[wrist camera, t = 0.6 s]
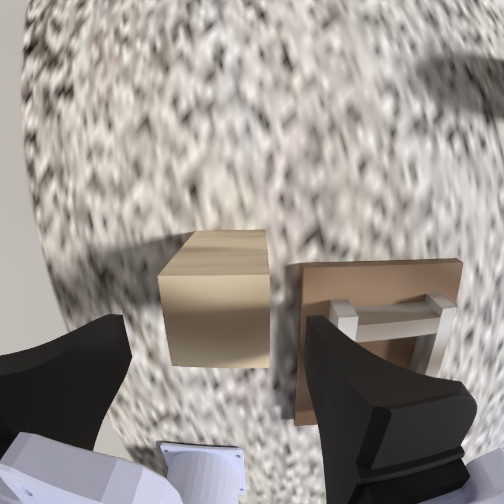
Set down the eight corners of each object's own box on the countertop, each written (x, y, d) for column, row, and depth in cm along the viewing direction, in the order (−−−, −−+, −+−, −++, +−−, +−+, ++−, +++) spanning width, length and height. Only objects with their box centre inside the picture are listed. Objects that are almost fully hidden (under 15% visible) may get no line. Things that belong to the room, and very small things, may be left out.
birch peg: (266, 294, 21) (269, 367, 13) (200, 295, 21) (171, 366, 13) (265, 229, 20) (269, 274, 12) (195, 231, 20) (157, 275, 12)
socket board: (419, 401, 24) (433, 426, 21) (293, 417, 24) (296, 447, 21) (456, 258, 20) (482, 274, 17) (301, 262, 20) (309, 283, 17)
